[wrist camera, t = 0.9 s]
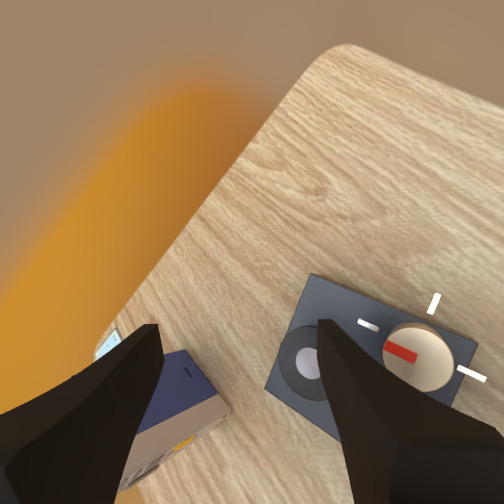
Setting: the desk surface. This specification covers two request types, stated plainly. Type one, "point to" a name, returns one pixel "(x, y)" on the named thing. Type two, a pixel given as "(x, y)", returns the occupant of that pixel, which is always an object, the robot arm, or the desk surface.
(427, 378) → the knob
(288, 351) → the burner
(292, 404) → the hot plate
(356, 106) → the desk surface
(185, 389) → the walkman
